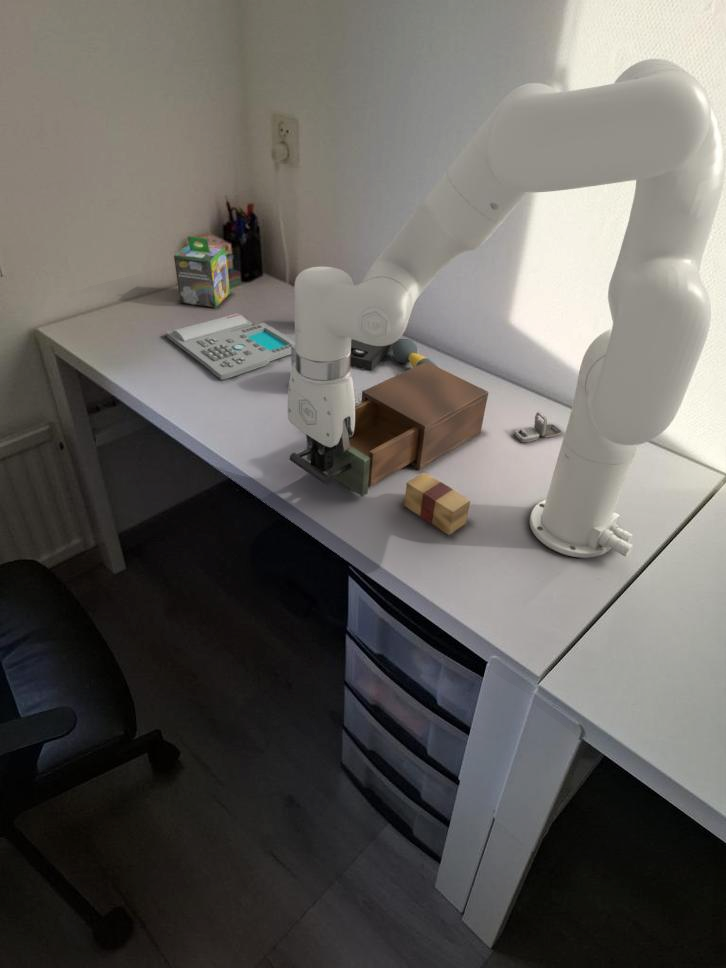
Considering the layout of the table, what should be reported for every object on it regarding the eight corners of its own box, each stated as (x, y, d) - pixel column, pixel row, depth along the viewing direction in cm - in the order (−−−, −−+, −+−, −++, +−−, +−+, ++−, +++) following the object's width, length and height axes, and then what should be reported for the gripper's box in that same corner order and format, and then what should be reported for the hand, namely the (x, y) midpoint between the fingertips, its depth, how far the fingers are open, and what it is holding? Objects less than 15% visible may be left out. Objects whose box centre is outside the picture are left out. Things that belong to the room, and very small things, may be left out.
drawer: (334, 512, 100) (336, 476, 95) (279, 473, 107) (278, 437, 102) (428, 457, 112) (432, 423, 108) (373, 425, 119) (375, 392, 115)
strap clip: (522, 443, 118) (527, 423, 116) (512, 434, 120) (517, 414, 118) (561, 434, 121) (567, 415, 119) (551, 426, 123) (557, 406, 121)
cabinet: (419, 470, 111) (425, 426, 105) (359, 433, 118) (361, 391, 113) (480, 433, 120) (488, 391, 115) (421, 402, 128) (426, 361, 122)
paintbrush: (463, 389, 132) (466, 366, 129) (444, 396, 130) (448, 373, 127) (398, 350, 144) (400, 328, 141) (380, 356, 142) (381, 334, 139)
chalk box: (230, 294, 163) (226, 232, 154) (215, 309, 156) (209, 244, 147) (195, 288, 164) (188, 227, 155) (178, 303, 157) (170, 239, 148)
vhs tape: (365, 334, 149) (365, 326, 148) (398, 343, 147) (399, 334, 145) (336, 361, 139) (337, 352, 138) (371, 370, 136) (372, 361, 135)
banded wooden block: (466, 523, 101) (470, 499, 98) (448, 535, 98) (453, 511, 95) (421, 495, 105) (424, 471, 103) (403, 506, 103) (406, 482, 100)
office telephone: (163, 326, 142) (244, 304, 152) (165, 337, 143) (245, 315, 154) (221, 368, 128) (305, 342, 139) (222, 381, 130) (305, 353, 140)
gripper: (267, 349, 93) (271, 456, 105) (340, 391, 85) (337, 502, 97) (307, 334, 98) (308, 438, 109) (381, 373, 90) (373, 481, 101)
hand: (321, 468), depth 103 cm, fingers closed
